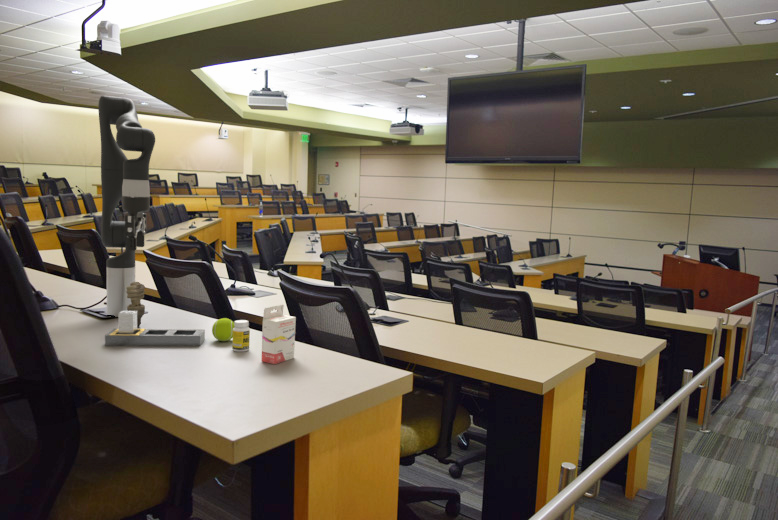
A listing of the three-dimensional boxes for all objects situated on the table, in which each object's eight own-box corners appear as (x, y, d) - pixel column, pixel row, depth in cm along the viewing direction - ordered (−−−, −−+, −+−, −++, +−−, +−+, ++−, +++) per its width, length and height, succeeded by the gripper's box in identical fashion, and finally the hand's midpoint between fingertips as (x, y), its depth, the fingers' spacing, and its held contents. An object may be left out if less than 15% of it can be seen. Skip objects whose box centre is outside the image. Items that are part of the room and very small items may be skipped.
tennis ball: (210, 344, 166) (211, 320, 165) (213, 338, 173) (213, 315, 172) (234, 343, 167) (235, 321, 167) (236, 338, 174) (237, 316, 173)
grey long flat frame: (114, 338, 167) (114, 328, 166) (204, 339, 171) (204, 329, 171) (105, 345, 159) (104, 334, 159) (200, 345, 163) (200, 335, 163)
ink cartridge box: (275, 365, 148) (276, 310, 147) (260, 361, 151) (262, 308, 149) (295, 357, 156) (296, 305, 154) (281, 354, 158) (282, 303, 157)
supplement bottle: (244, 352, 158) (245, 323, 158) (229, 351, 159) (229, 322, 158) (252, 348, 163) (252, 320, 162) (237, 347, 164) (237, 318, 163)
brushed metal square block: (123, 340, 165) (122, 310, 164) (137, 340, 166) (137, 310, 165) (118, 343, 162) (118, 313, 161) (133, 344, 162) (133, 313, 161)
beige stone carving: (139, 329, 179) (139, 283, 177) (123, 328, 179) (122, 282, 177) (147, 325, 185) (147, 280, 183) (131, 324, 185) (131, 280, 183)
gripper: (130, 193, 174) (130, 245, 176) (115, 195, 160) (115, 251, 162) (155, 195, 175) (155, 246, 177) (142, 196, 161) (143, 252, 163)
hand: (136, 248), depth 170 cm, fingers open, 8 cm apart
